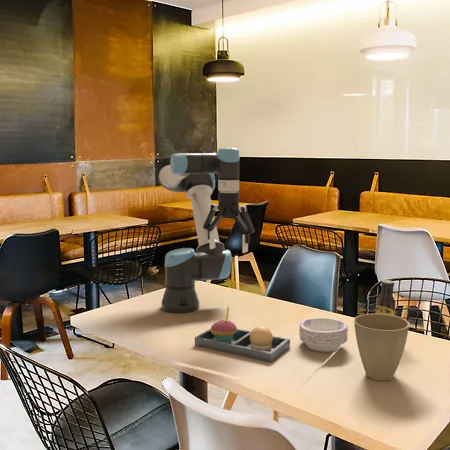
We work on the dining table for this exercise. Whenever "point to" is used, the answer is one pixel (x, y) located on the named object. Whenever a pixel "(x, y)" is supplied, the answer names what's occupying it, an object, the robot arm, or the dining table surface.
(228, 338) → the cupcake
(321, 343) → the paper bowls
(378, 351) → the plant pot
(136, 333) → the dining table surface
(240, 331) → the divided tray
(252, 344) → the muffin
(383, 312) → the sauce bottle
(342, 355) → the dining table surface
